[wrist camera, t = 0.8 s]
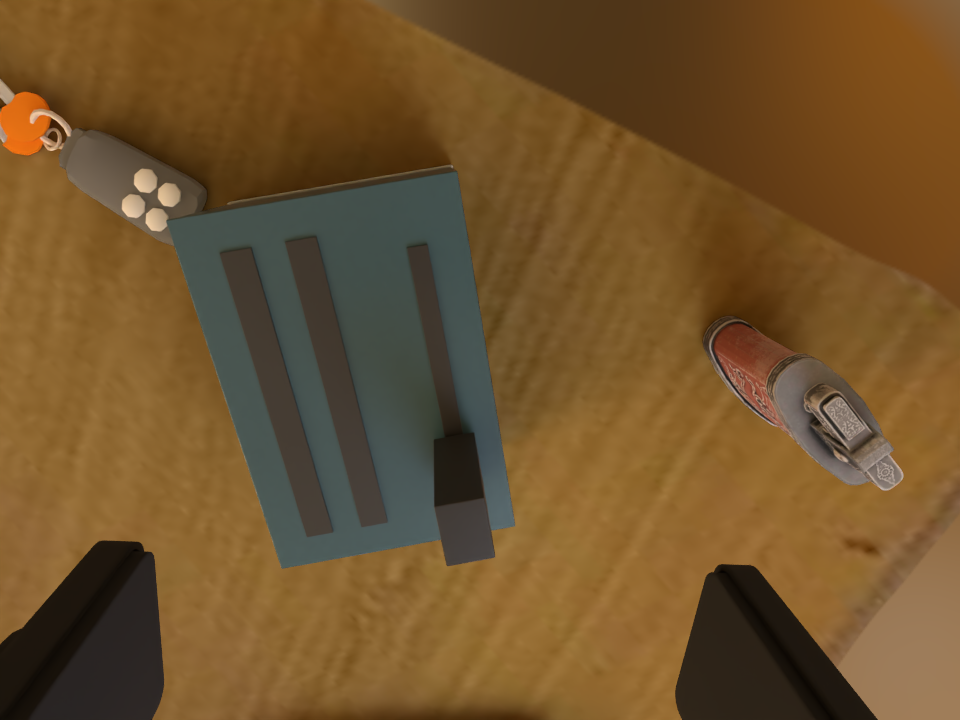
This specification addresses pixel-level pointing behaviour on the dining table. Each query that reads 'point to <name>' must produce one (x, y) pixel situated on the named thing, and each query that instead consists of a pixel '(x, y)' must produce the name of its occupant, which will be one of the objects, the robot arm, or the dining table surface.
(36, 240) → the dining table surface
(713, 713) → the robot arm
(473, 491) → the slider
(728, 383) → the lighter
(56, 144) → the key chain
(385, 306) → the toaster
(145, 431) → the dining table surface
